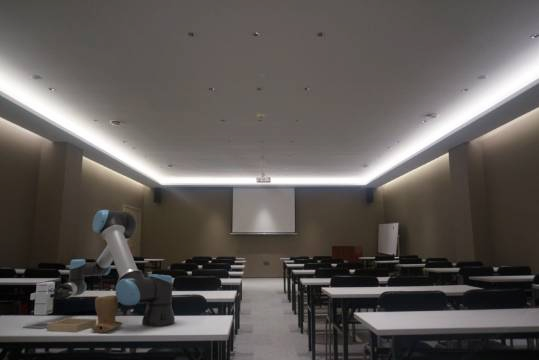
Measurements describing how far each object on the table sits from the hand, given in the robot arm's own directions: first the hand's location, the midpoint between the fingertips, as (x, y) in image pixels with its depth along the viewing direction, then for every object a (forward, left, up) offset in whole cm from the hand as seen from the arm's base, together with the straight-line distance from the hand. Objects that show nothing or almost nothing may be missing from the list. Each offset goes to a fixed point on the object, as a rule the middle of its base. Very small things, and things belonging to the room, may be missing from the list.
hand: (38, 296), depth 175 cm
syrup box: (+1, -5, -9) cm, 10 cm away
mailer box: (-17, -9, -14) cm, 24 cm away
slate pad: (+1, -5, -14) cm, 15 cm away
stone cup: (-34, -3, -14) cm, 37 cm away
